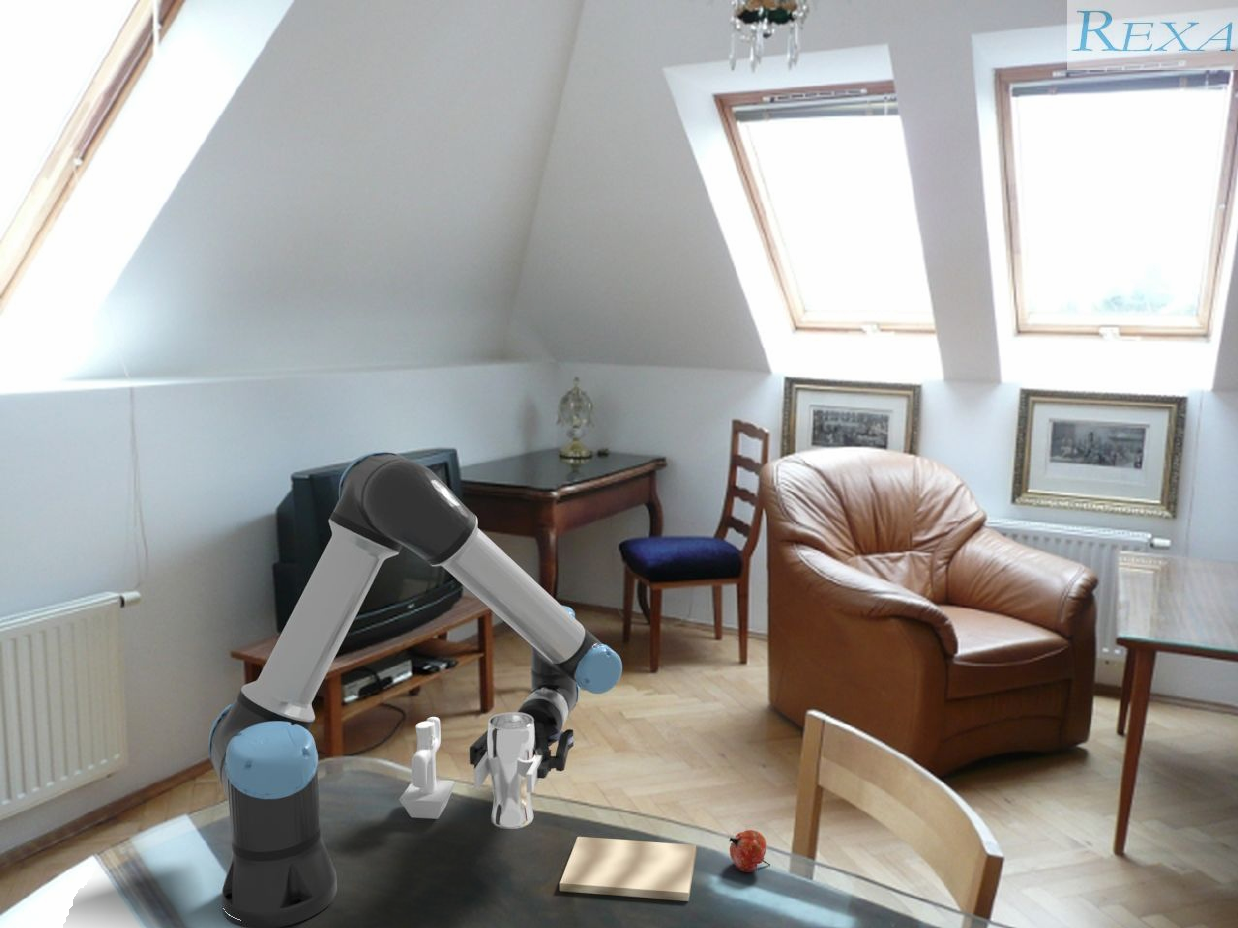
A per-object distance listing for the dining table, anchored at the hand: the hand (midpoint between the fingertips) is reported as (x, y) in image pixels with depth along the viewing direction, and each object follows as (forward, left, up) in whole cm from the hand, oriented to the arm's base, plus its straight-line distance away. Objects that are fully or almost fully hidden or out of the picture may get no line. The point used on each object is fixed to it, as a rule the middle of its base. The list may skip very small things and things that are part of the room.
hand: (502, 781), depth 145 cm
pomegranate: (+34, +9, -15) cm, 39 cm away
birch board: (+17, +5, -15) cm, 24 cm away
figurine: (-18, +19, -15) cm, 30 cm away
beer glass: (0, +5, -8) cm, 10 cm away
